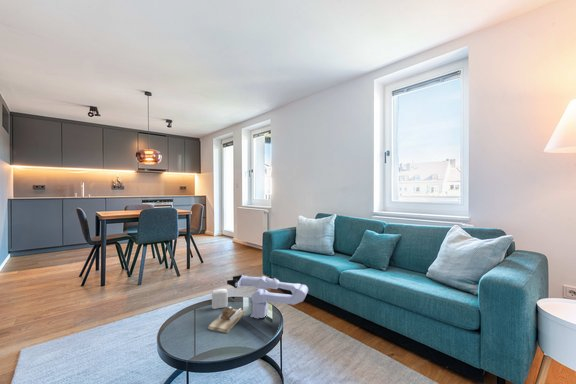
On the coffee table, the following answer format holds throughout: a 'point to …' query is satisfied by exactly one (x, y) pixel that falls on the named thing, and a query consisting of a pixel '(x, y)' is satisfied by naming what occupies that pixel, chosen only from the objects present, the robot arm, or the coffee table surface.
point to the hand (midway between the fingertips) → (230, 280)
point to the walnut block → (227, 313)
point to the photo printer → (219, 298)
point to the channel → (232, 315)
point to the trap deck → (225, 323)
